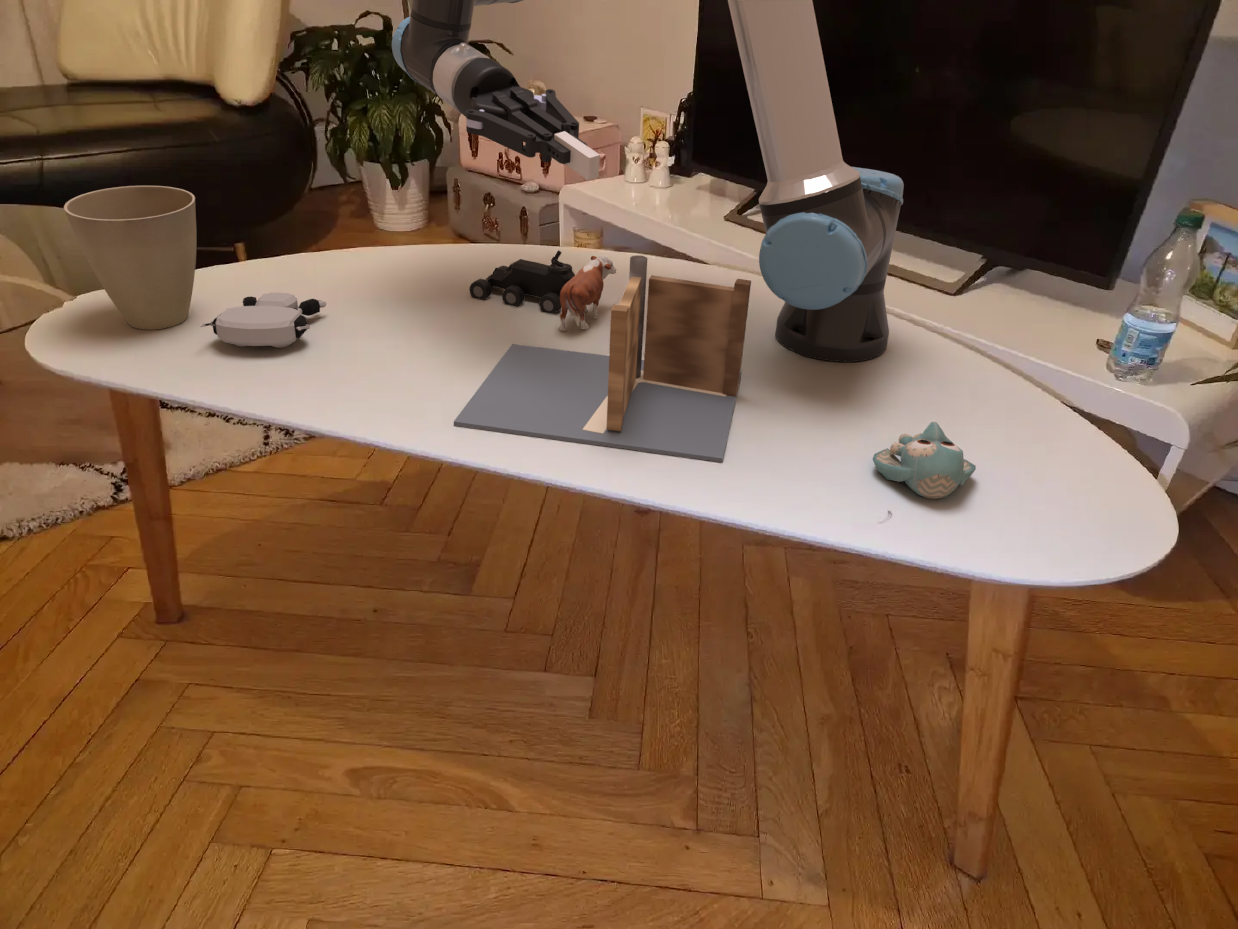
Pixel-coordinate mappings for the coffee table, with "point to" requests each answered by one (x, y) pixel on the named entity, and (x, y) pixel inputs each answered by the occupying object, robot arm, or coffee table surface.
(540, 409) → the board
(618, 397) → the fence panel
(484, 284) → the toy vehicle
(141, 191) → the plant pot
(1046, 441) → the coffee table surface
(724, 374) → the rod
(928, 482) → the stuffed animal
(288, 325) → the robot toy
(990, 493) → the coffee table surface
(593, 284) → the bull figurine
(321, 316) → the coffee table surface
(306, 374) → the coffee table surface
